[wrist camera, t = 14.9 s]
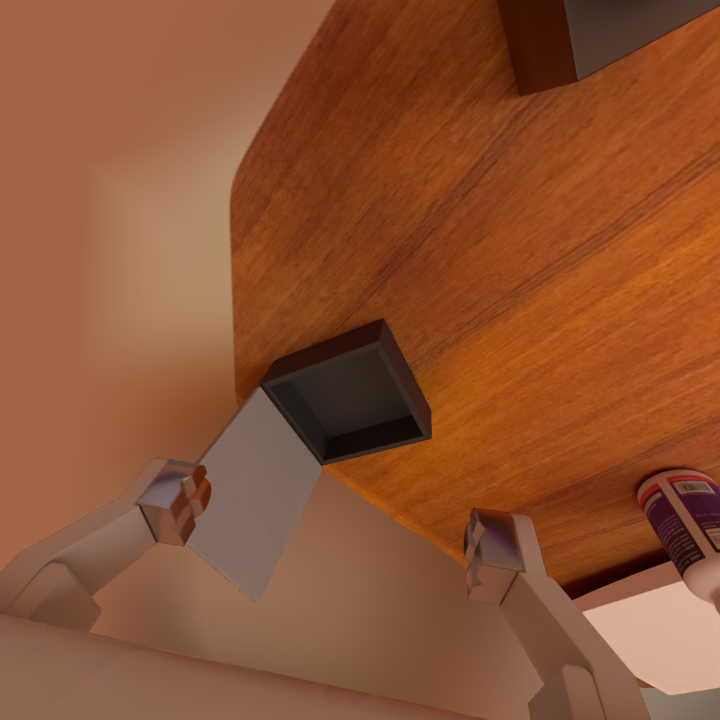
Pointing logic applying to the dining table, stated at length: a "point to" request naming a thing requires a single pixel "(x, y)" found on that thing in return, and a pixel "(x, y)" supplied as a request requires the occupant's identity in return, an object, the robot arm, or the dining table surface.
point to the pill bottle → (687, 526)
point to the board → (658, 629)
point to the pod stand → (584, 35)
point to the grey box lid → (252, 495)
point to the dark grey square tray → (350, 395)
